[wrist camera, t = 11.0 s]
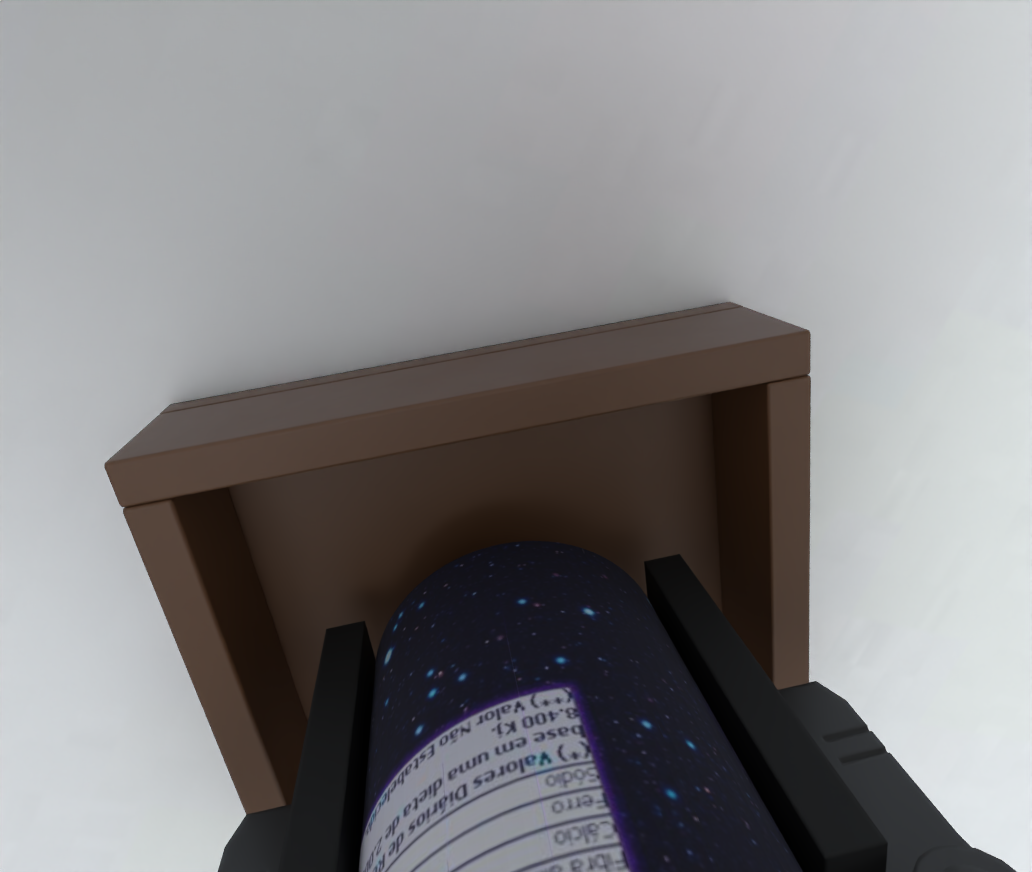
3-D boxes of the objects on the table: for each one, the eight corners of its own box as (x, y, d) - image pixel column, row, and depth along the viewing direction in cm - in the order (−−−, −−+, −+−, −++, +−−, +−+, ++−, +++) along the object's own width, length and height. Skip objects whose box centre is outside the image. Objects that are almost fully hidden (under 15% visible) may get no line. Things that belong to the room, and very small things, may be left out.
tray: (168, 404, 13) (101, 463, 10) (731, 300, 14) (812, 329, 11) (319, 825, 18) (300, 951, 15) (747, 725, 18) (809, 825, 16)
